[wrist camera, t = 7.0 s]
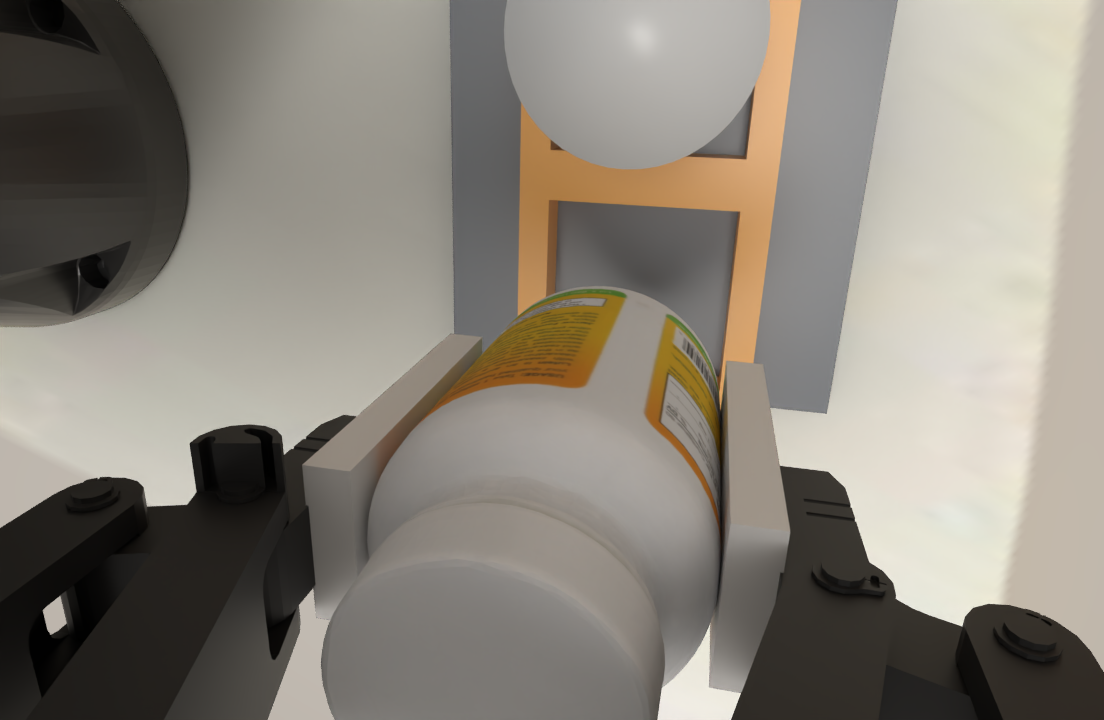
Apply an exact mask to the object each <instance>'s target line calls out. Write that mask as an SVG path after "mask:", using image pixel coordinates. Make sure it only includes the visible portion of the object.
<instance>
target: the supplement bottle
mask: <svg viewBox="0 0 1104 720" xmlns="http://www.w3.org/2000/svg"><path fill="white" fill-rule="evenodd" d="M367 545H368V554H369V561H368V562H367V564H366V565H365V567H364V568H363V570H362V571H361V573H360V574H359V575H358V577H357V578H356V580H355V581H354V583H353V584H352V586H351V587H350V588H349V590H348V591H347V593H346V594H345V596H344V597H343V599H342V600H341V601H340V603H339V604H338V606H337V608H336V610H335V611H334V613H333V615H332V618H331V620H330V623H329V625H328V628H327V631H326V635H325V638H324V643H323V649H322V658H321V669H322V680H323V686H324V690H325V693H326V697H327V701H328V704H329V707H330V710H331V713H332V715H333V717H334V719H335V720H657V717H658V710H659V703H660V696H661V689H662V687H663V686H665V685H666V684H667V683H669V682H670V681H671V680H672V679H673V678H674V677H675V676H676V675H677V674H678V673H679V672H680V671H681V670H682V669H683V668H684V667H685V665H686V664H687V663H688V662H689V660H690V659H691V658H692V657H693V655H694V654H695V652H696V651H697V649H698V647H699V646H700V644H701V642H702V640H703V638H704V636H705V634H706V632H707V629H708V627H709V625H710V622H711V619H712V616H713V613H714V610H715V605H716V599H717V594H718V587H719V575H720V564H721V435H720V398H719V390H718V384H717V378H716V374H715V370H714V367H713V365H712V362H711V359H710V357H709V355H708V353H707V351H706V349H705V347H704V346H703V344H702V342H701V341H700V340H699V338H698V337H697V335H696V334H695V332H694V331H693V330H692V329H691V328H690V327H689V326H688V325H687V323H686V322H685V321H684V320H682V319H681V318H680V317H679V316H678V315H677V314H676V313H674V312H673V311H672V310H670V309H669V308H668V307H666V306H665V305H663V304H661V303H659V302H658V301H656V300H654V299H652V298H650V297H648V296H646V295H643V294H640V293H637V292H634V291H631V290H627V289H622V288H616V287H608V286H588V287H578V288H572V289H568V290H564V291H560V292H557V293H554V294H552V295H550V296H547V297H545V298H543V299H541V300H539V301H538V302H536V303H534V304H533V305H531V306H530V307H529V308H527V309H526V310H525V311H523V312H522V313H521V314H520V315H519V316H518V317H517V318H515V319H514V320H513V321H512V322H511V323H510V324H509V325H508V326H507V327H506V329H505V330H504V331H503V332H502V333H501V334H500V335H499V336H498V337H497V338H496V339H495V341H494V342H493V343H492V344H491V345H490V346H489V347H488V348H487V349H486V350H485V352H484V353H483V354H482V355H481V356H480V357H479V358H478V359H477V360H476V361H475V362H474V364H473V365H472V366H471V367H470V368H469V369H468V370H467V371H466V372H465V373H464V374H463V375H462V377H461V378H460V379H459V380H458V381H457V382H456V383H455V384H454V385H453V386H452V387H451V388H450V390H449V391H448V392H447V393H446V394H445V395H444V396H443V397H442V398H441V399H440V400H439V401H438V402H437V404H436V405H435V406H434V407H433V408H432V409H431V410H430V411H429V412H428V413H427V414H426V416H425V417H424V418H423V419H422V420H421V421H420V422H419V423H418V424H417V426H416V427H415V428H414V429H413V430H412V431H411V432H410V433H409V435H408V436H407V437H406V439H405V440H404V441H403V443H402V444H401V445H400V447H399V448H398V449H397V451H396V452H395V453H394V455H393V456H392V457H391V459H390V460H389V462H388V464H387V465H386V467H385V469H384V471H383V473H382V474H381V477H380V479H379V482H378V484H377V486H376V489H375V492H374V495H373V498H372V502H371V507H370V511H369V518H368V532H367Z"/></svg>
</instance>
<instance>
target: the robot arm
mask: <svg viewBox="0 0 1104 720" xmlns="http://www.w3.org/2000/svg"><path fill="white" fill-rule="evenodd" d="M186 196H187V158H186V148H185V142H184V136H183V131H182V126H181V122H180V118H179V114H178V111H177V107H176V104H175V101H174V98H173V95H172V93H171V90H170V87H169V85H168V82H167V80H166V78H165V75H164V73H163V71H162V69H161V67H160V65H159V63H158V61H157V59H156V57H155V55H154V53H153V52H152V50H151V48H150V46H149V45H148V43H147V41H146V40H145V38H144V37H143V35H142V34H141V32H140V31H139V29H138V28H137V26H136V25H135V24H134V22H133V21H132V20H131V18H130V17H129V16H128V15H127V13H126V12H125V11H124V10H123V9H122V7H121V6H120V5H119V4H118V3H117V2H116V1H115V0H0V327H44V326H52V325H58V324H63V323H68V322H71V321H75V320H78V319H81V318H84V317H87V316H89V315H92V314H95V313H98V312H101V311H104V310H107V309H110V308H112V307H114V306H117V305H119V304H121V303H123V302H125V301H127V300H129V299H130V298H132V297H133V296H135V295H136V294H138V293H139V292H140V291H141V290H142V289H144V288H145V287H146V286H147V285H148V284H149V283H150V282H151V281H152V280H153V279H154V277H155V276H156V275H157V274H158V273H159V271H160V270H161V268H162V267H163V265H164V264H165V262H166V261H167V259H168V257H169V255H170V253H171V252H172V249H173V247H174V245H175V243H176V240H177V237H178V234H179V231H180V228H181V224H182V220H183V216H184V211H185V205H186ZM481 355H482V337H479V336H468V335H458V334H450V335H449V336H447V337H446V338H445V339H444V340H443V341H442V342H441V343H439V344H438V345H437V346H436V347H435V348H434V349H433V350H432V351H430V352H429V353H428V354H427V355H426V356H425V357H424V358H423V359H421V360H420V361H419V362H418V363H417V364H416V365H415V366H413V367H412V368H411V369H410V370H409V371H408V372H407V373H406V374H404V375H403V376H402V377H401V378H400V379H399V380H398V381H396V382H395V383H394V384H393V385H392V386H391V387H390V388H389V389H387V390H386V391H385V392H384V393H383V394H382V395H381V396H380V397H378V398H377V399H376V400H375V401H374V402H373V403H372V404H370V405H369V406H368V407H367V408H366V409H365V410H364V411H363V412H361V413H360V414H359V415H358V416H357V417H356V416H348V415H343V416H340V417H338V418H335V419H333V420H331V421H328V422H326V423H323V424H321V425H320V426H319V427H317V428H316V429H315V430H314V431H313V432H311V433H310V434H309V435H308V436H306V439H303V440H302V441H300V442H299V443H298V444H297V445H296V446H294V449H291V450H289V451H288V452H287V453H286V454H285V455H284V453H283V443H282V436H281V435H280V434H279V432H278V431H277V430H275V429H272V428H269V427H266V426H259V425H238V426H229V427H225V428H220V429H216V430H213V431H210V432H208V433H205V434H203V435H200V436H199V437H197V438H196V439H195V440H193V441H192V442H191V443H190V450H191V456H192V463H193V470H194V477H195V483H196V490H197V493H196V494H195V495H194V497H193V498H192V499H191V501H190V502H189V503H188V505H175V506H152V507H147V505H146V499H145V493H144V487H143V486H142V485H141V484H140V483H139V482H138V481H134V480H131V479H127V478H112V477H100V478H99V479H98V478H94V479H89V480H86V481H84V482H83V483H80V484H76V485H73V486H70V487H68V488H66V489H64V490H62V491H60V492H58V493H56V494H54V495H52V496H51V497H49V498H47V499H46V500H44V501H43V502H41V503H39V504H38V505H36V506H35V507H33V508H31V509H30V510H28V511H27V512H25V513H23V514H22V515H20V516H19V517H17V518H15V519H14V520H13V521H11V522H9V523H7V524H6V525H4V526H3V527H1V528H0V720H267V719H268V717H269V714H270V711H271V709H272V706H273V703H274V701H275V698H276V695H277V692H278V690H279V687H280V684H281V681H282V679H283V676H284V673H285V671H286V668H287V665H288V662H289V660H290V657H291V654H292V652H293V649H294V646H295V644H296V640H297V638H298V635H299V633H300V612H299V604H300V603H301V602H302V601H303V599H304V598H305V597H306V596H307V594H308V593H309V592H310V591H311V590H312V589H314V600H315V611H316V618H320V619H326V620H331V618H332V615H333V613H334V611H335V610H336V608H337V606H338V604H339V603H340V601H341V600H342V599H343V597H344V596H345V594H346V593H347V591H348V590H349V588H350V587H351V586H352V584H353V583H354V581H355V580H356V578H357V577H358V575H359V574H360V573H361V571H362V570H363V568H364V567H365V565H366V564H367V562H368V561H369V554H368V545H367V532H368V518H369V511H370V507H371V502H372V498H373V495H374V492H375V489H376V486H377V484H378V482H379V479H380V477H381V474H382V473H383V471H384V469H385V467H386V465H387V464H388V462H389V460H390V459H391V457H392V456H393V455H394V453H395V452H396V451H397V449H398V448H399V447H400V445H401V444H402V443H403V441H404V440H405V439H406V437H407V436H408V435H409V433H410V432H411V431H412V430H413V429H414V428H415V427H416V426H417V424H418V423H419V422H420V421H421V420H422V419H423V418H424V417H425V416H426V414H427V413H428V412H429V411H430V410H431V409H432V408H433V407H434V406H435V405H436V404H437V402H438V401H439V400H440V399H441V398H442V397H443V396H444V395H445V394H446V393H447V392H448V391H449V390H450V388H451V387H452V386H453V385H454V384H455V383H456V382H457V381H458V380H459V379H460V378H461V377H462V375H463V374H464V373H465V372H466V371H467V370H468V369H469V368H470V367H471V366H472V365H473V364H474V362H475V361H476V360H477V359H478V358H479V357H480V356H481ZM720 435H721V564H720V575H719V587H718V594H717V599H716V605H715V610H714V613H713V616H712V619H711V622H710V675H709V687H710V688H715V689H721V690H727V691H732V692H738V693H741V695H740V698H739V700H738V703H737V706H736V708H735V711H734V714H733V716H732V719H731V720H1104V672H1103V670H1102V669H1101V667H1100V665H1099V664H1098V662H1097V661H1096V659H1095V657H1094V656H1093V654H1092V652H1091V651H1090V650H1089V649H1088V648H1087V647H1086V645H1085V644H1084V643H1083V642H1082V641H1081V640H1080V639H1079V638H1078V637H1077V636H1076V635H1075V634H1073V633H1072V632H1071V631H1069V630H1068V629H1066V628H1065V627H1063V626H1062V625H1060V624H1059V623H1057V622H1056V621H1054V620H1052V619H1050V618H1048V617H1046V616H1042V615H1040V614H1039V613H1037V612H1034V611H1031V610H1028V609H1022V608H1018V607H1014V606H1011V605H998V604H987V605H983V606H979V607H975V608H973V609H972V610H971V611H970V612H969V613H968V614H967V615H966V616H965V619H964V623H963V627H962V626H959V625H956V624H953V623H950V622H947V621H944V620H941V619H938V618H935V617H932V616H929V615H927V614H924V613H922V612H920V611H917V610H915V609H912V608H911V607H909V606H907V605H905V604H903V603H902V602H900V601H898V600H897V599H895V598H896V594H895V589H894V585H893V582H892V581H891V580H890V579H889V578H888V577H887V575H886V574H885V573H884V572H883V571H882V570H880V569H879V568H877V567H876V566H874V565H872V564H871V563H869V561H868V558H867V554H866V551H865V548H864V545H863V542H862V539H861V536H860V533H859V530H858V526H857V523H856V522H855V517H854V514H853V511H852V508H850V502H849V498H848V495H847V492H846V489H845V487H844V486H843V485H842V484H840V483H839V482H838V481H837V480H836V479H835V478H834V477H833V476H832V475H831V474H830V473H829V472H825V471H817V470H809V469H801V468H792V467H784V466H780V465H779V459H778V453H777V447H776V440H775V434H774V428H773V422H772V416H771V410H770V404H769V398H768V391H767V385H766V379H765V373H764V367H763V364H756V363H745V362H735V361H726V368H725V377H724V385H723V394H722V402H721V411H720ZM59 596H61V600H62V604H63V609H64V613H65V617H66V621H67V624H66V625H65V626H63V627H62V628H61V629H60V630H59V631H57V632H55V633H54V634H52V635H50V633H49V632H48V630H47V627H46V623H45V618H44V614H43V609H44V608H45V607H46V606H47V605H49V604H50V603H51V602H53V601H54V600H55V599H56V598H58V597H59Z"/></svg>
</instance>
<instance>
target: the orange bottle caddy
mask: <svg viewBox="0 0 1104 720" xmlns="http://www.w3.org/2000/svg"><path fill="white" fill-rule="evenodd" d="M897 1H898V0H450V47H451V119H452V191H453V263H454V334H458V335H468V336H479V337H482V354H483V353H484V352H485V350H486V349H487V348H488V347H489V346H490V345H491V344H492V343H493V342H494V341H495V339H496V338H497V337H498V336H499V335H500V334H501V333H502V332H503V331H504V330H505V329H506V327H507V326H508V325H509V324H510V323H511V322H512V321H513V320H514V319H515V318H517V317H518V316H519V315H520V314H521V313H522V312H523V311H525V310H526V309H527V308H529V307H530V306H531V305H533V304H534V303H536V302H538V301H539V300H541V299H543V298H545V297H547V296H550V295H552V294H554V293H557V292H560V291H564V290H568V289H572V288H578V287H588V286H608V287H616V288H622V289H627V290H631V291H634V292H637V293H640V294H643V295H646V296H648V297H650V298H652V299H654V300H656V301H658V302H659V303H661V304H663V305H665V306H666V307H668V308H669V309H670V310H672V311H673V312H674V313H676V314H677V315H678V316H679V317H680V318H681V319H682V320H684V321H685V322H686V323H687V325H688V326H689V327H690V328H691V329H692V330H693V331H694V332H695V334H696V335H697V337H698V338H699V340H700V341H701V342H702V344H703V346H704V347H705V349H706V351H707V353H708V355H709V357H710V359H711V362H712V365H713V367H714V370H715V374H716V378H717V384H718V390H719V398H720V411H721V402H722V394H723V385H724V377H725V368H726V361H735V362H745V363H756V364H763V367H764V373H765V379H766V385H767V391H768V398H769V404H770V408H778V409H788V410H797V411H807V412H816V413H825V414H827V409H828V403H829V397H830V391H831V385H832V379H833V374H834V368H835V362H836V356H837V350H838V344H839V339H840V333H841V327H842V321H843V315H844V310H845V304H846V298H847V292H848V286H849V280H850V275H851V269H852V263H853V257H854V251H855V245H856V240H857V234H858V228H859V222H860V216H861V210H862V205H863V199H864V193H865V187H866V181H867V176H868V170H869V164H870V158H871V152H872V146H873V141H874V135H875V129H876V123H877V117H878V111H879V106H880V100H881V94H882V88H883V82H884V77H885V71H886V65H887V59H888V53H889V47H890V42H891V36H892V30H893V24H894V18H895V12H896V7H897Z"/></svg>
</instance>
